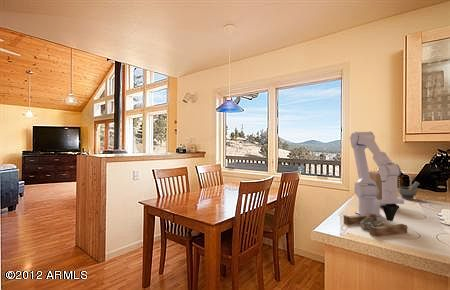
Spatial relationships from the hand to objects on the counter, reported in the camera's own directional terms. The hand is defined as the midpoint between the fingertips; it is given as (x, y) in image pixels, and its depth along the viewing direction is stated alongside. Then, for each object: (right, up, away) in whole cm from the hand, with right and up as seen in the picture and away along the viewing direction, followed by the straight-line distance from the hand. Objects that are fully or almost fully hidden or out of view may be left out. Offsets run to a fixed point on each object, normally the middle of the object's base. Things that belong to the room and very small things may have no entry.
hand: (389, 220), depth 104 cm
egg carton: (-9, -3, -2) cm, 10 cm away
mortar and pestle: (+48, -2, +49) cm, 69 cm away
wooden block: (+19, -2, +34) cm, 39 cm away
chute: (-9, -3, -2) cm, 9 cm away
